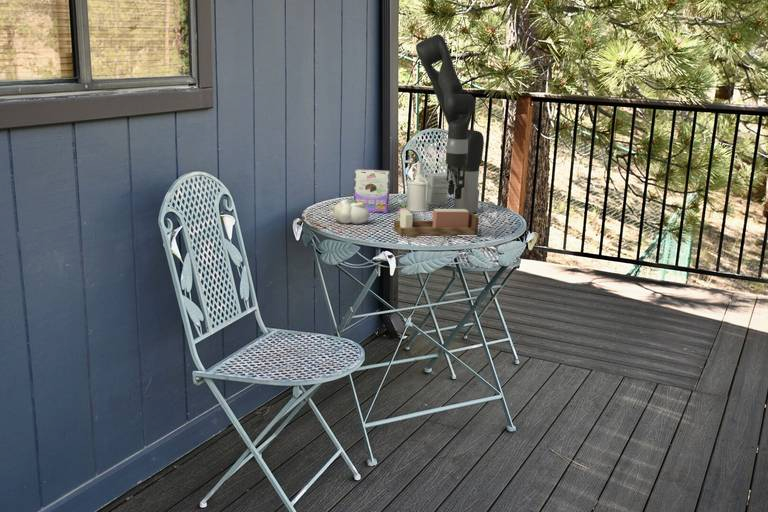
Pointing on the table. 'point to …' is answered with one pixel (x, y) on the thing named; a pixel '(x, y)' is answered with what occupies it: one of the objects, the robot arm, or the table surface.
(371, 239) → the table surface
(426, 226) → the book rack
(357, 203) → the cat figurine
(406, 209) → the rabbit figure
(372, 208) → the candy box
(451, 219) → the book
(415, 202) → the white bottle
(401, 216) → the bookend
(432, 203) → the supplement box
